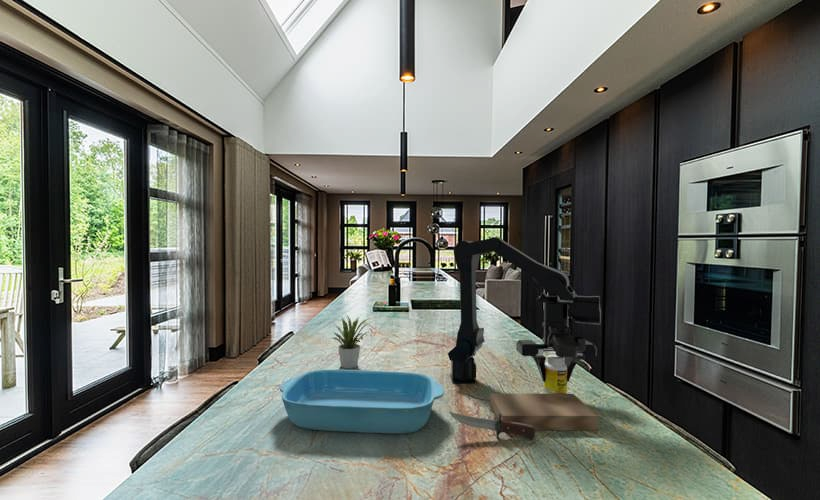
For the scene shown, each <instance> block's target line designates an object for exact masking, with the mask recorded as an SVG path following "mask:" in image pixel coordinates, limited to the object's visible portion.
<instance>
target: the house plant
mask: <svg viewBox="0 0 820 500" xmlns="http://www.w3.org/2000/svg"><path fill="white" fill-rule="evenodd" d="M345 316H346V319H347V321H346V320H345V319H344V318H343V317H341V322H342V328H343V330H342V329H341V327H339V326H338V325H336V324H335V323H334V322H331V321H328V322H329V323H331V324H333V325H334V326H335V327H336V328H337V329H338V331H339V333H340V334H341V335H342V336H341V335H340V334H338V333H337V332H335V331H334V332H332V333H333V334H334V335H335V336H336V337H331V338H330V339H332V340H336V341H338V342H339V343H340V345H337V346H338V347H337V348H338V356H339V361H340V366H341V368H342V367H344V368H343V369H353V367H355V368H357V367H358V364H359V358H360V352H361V345H360V344H358V343H361V340H363V339H364V336H367V333H369V331H367V332H364V333H361V332H362V330H363V329H364V328H365V327H366V326H368V325H369V323H366V321H368V320H372V319H373V318H372V317H370V318H366V319H364V320H363V321H361V322H360V323H359V319H360V316H358V317H357V318H356V319H354V321H353V322H352V320H351V318H350V317H349V316H348V315H347V314H346V315H345ZM347 322H348V323H347ZM358 323H359V325H358ZM362 325H363V326H362ZM361 326H362V327H361ZM360 327H361V328H360ZM358 330H359V331H358ZM356 366H357V367H356Z"/></svg>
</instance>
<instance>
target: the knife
mask: <svg viewBox="0 0 820 500" xmlns="http://www.w3.org/2000/svg"><path fill="white" fill-rule="evenodd" d="M448 413H449V414H450V416H451V417H452V418H453V419H455V420H456V421H457V422H459V423H461V424H463V425H467V426H469V427H473V428H479V429H482V430H483V429H484V430H491V431H495V436H496V439H500V437H499V435H500V434H501V433H504V434H507V435H512V434H513V435H515V436H522V437H525V438H527V439H529V440H533V439H534V438H535V435H536V430H535V429H534V427H533V426H532V425H529V424H524V423H518V422H511V421H504V420H501V416H502V415H501V414H498V417H497V418H496V419H491V418H490V419H489V418H485V417H484V418H483V417H478V416H477V417H476V416H470V415H464V414H459V413H454V412H452V411H448Z"/></svg>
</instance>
